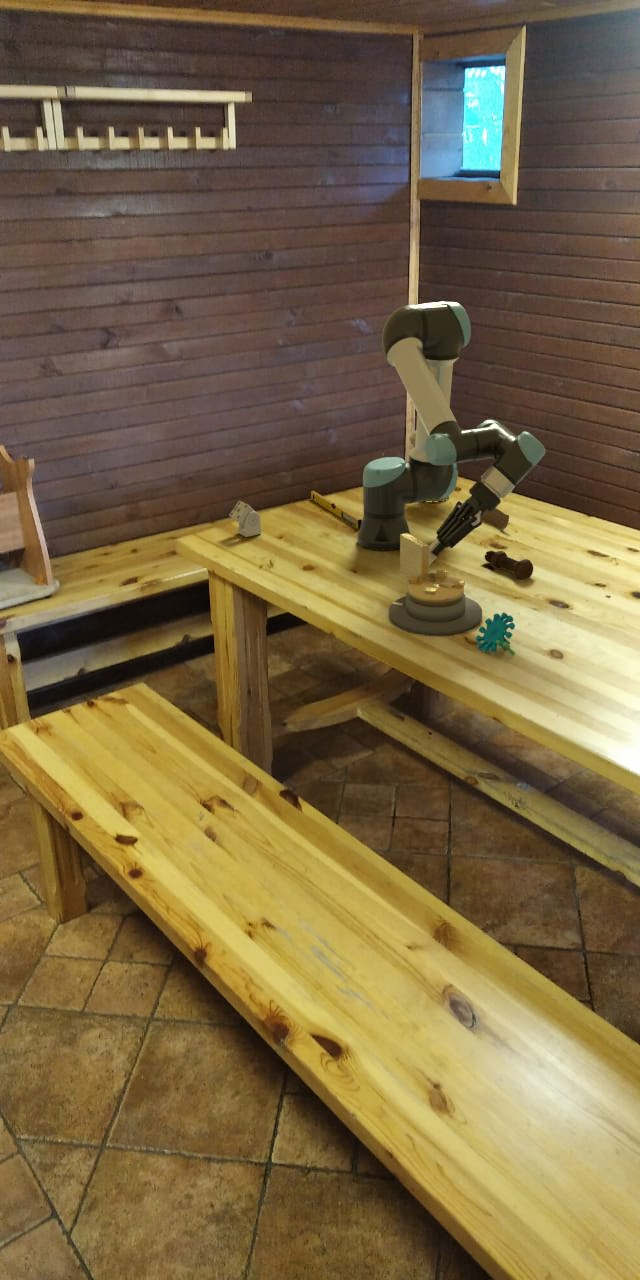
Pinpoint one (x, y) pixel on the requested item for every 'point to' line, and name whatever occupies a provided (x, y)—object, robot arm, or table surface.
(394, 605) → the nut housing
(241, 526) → the mechanical component
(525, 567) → the bolt
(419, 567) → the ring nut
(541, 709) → the table surface
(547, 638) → the table surface
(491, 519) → the wood plank
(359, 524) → the spirit level
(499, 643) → the teal spiky piece
